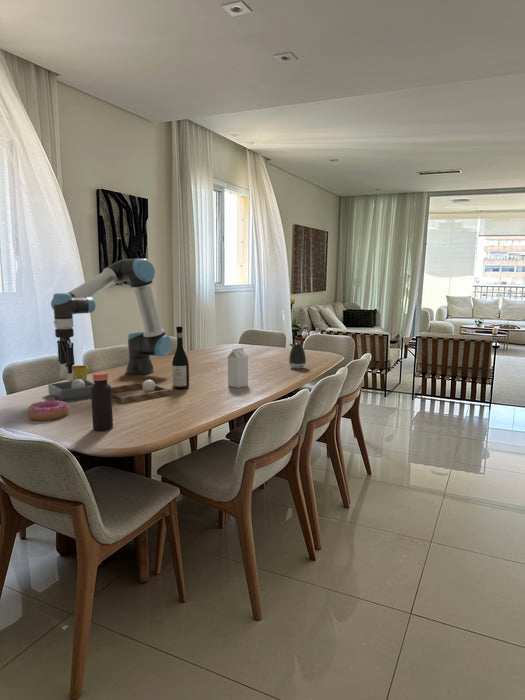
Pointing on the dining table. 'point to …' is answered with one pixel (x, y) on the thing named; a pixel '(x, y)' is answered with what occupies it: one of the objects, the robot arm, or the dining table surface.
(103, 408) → the vinegar
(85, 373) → the plant pot
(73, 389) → the grey shallow box
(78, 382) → the off-white glossy ball
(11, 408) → the dining table surface
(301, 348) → the pump dispenser
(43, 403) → the donut
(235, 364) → the milk carton
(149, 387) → the pebble
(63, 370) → the pebble
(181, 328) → the wine bottle
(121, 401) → the tray
